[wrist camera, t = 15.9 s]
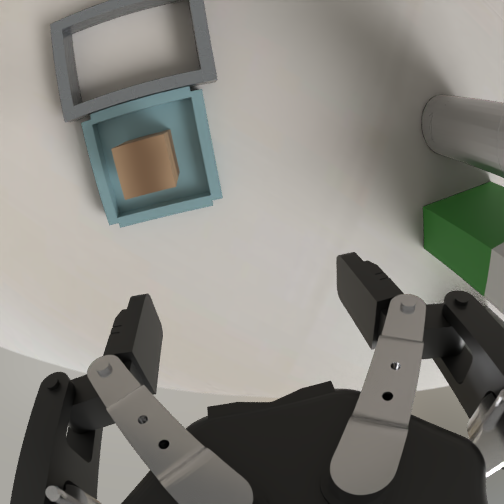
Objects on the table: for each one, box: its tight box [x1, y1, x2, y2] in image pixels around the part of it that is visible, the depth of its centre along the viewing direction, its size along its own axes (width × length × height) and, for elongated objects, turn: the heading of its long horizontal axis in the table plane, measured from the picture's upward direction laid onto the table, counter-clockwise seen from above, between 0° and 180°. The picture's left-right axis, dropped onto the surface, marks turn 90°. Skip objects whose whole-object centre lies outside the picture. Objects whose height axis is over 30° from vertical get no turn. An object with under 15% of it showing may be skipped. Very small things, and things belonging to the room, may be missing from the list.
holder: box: [50, 0, 217, 122], centre depth 26 cm, size 17×12×3 cm
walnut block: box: [111, 129, 180, 200], centre depth 29 cm, size 5×5×7 cm
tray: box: [81, 86, 223, 228], centre depth 32 cm, size 13×13×2 cm
